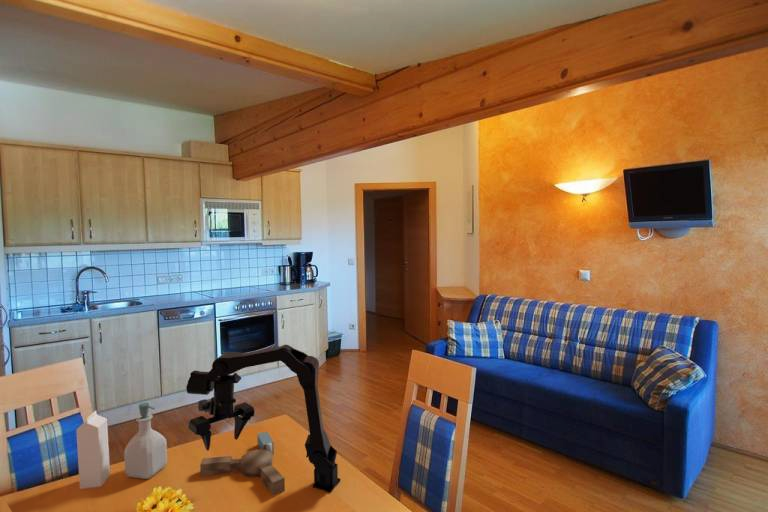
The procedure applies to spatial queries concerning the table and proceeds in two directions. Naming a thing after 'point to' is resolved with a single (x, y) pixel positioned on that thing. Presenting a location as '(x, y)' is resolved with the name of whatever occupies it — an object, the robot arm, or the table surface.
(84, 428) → the milk
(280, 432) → the table surface
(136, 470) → the soap bottle
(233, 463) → the wooden three-arm spinner
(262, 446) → the grey long block
